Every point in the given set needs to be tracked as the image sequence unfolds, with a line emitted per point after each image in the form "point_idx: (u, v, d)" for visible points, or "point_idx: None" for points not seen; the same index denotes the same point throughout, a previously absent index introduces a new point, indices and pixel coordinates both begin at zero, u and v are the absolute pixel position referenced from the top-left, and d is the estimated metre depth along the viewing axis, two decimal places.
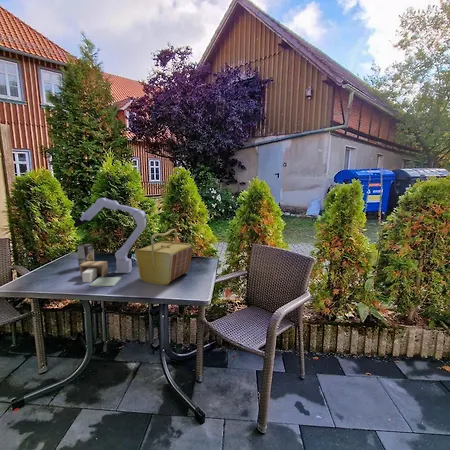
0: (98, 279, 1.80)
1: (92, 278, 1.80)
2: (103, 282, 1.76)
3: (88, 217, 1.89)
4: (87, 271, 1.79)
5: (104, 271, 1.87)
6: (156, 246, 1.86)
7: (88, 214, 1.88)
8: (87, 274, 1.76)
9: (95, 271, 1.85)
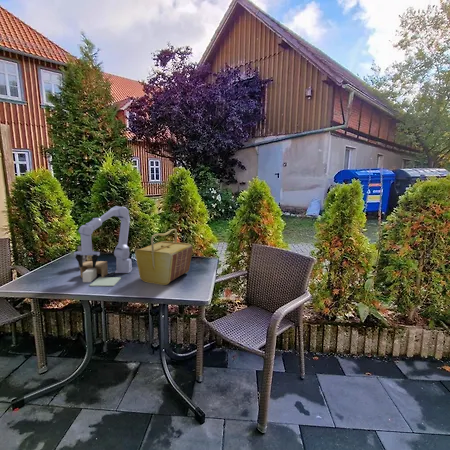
0: (98, 279, 1.80)
1: (92, 278, 1.80)
2: (103, 282, 1.76)
3: (91, 250, 1.79)
4: (87, 271, 1.79)
5: (104, 271, 1.87)
6: (156, 246, 1.87)
7: (91, 248, 1.77)
8: (87, 274, 1.76)
9: (95, 271, 1.85)
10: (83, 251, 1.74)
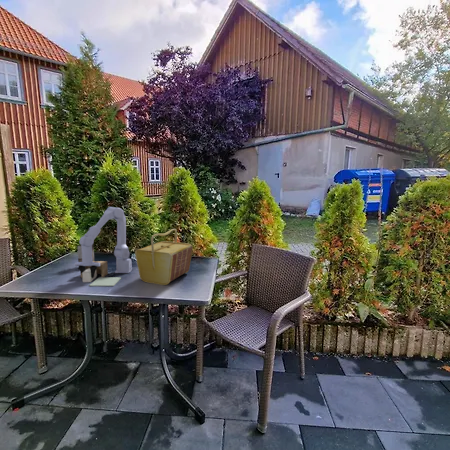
0: (98, 279, 1.80)
1: (92, 278, 1.80)
2: (103, 282, 1.76)
3: (92, 260, 1.80)
4: (87, 271, 1.79)
5: (104, 271, 1.87)
6: (156, 246, 1.86)
7: (92, 258, 1.78)
8: (87, 273, 1.76)
9: (95, 271, 1.85)
10: (84, 262, 1.75)
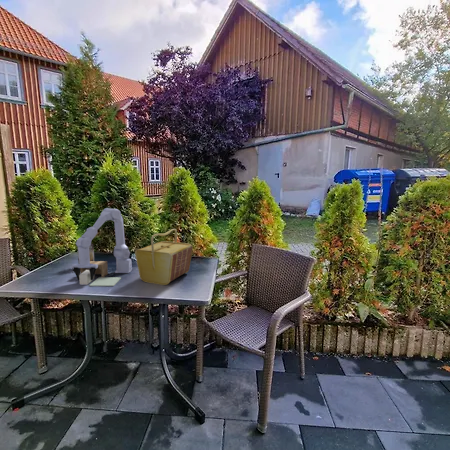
0: (98, 279, 1.80)
1: (89, 280, 1.76)
2: (103, 282, 1.76)
3: (89, 262, 1.76)
4: (84, 273, 1.75)
5: (104, 271, 1.87)
6: (156, 246, 1.87)
7: (89, 260, 1.74)
8: (84, 276, 1.72)
9: None
10: (81, 264, 1.72)
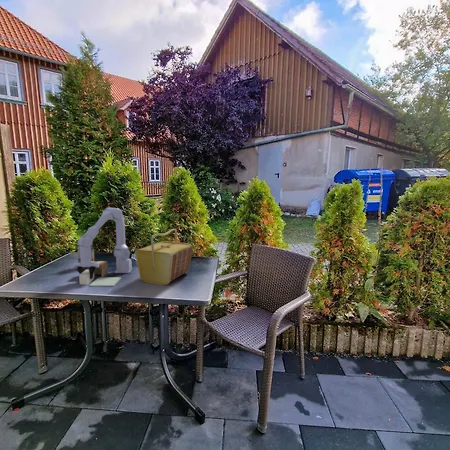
0: (98, 279, 1.80)
1: (89, 280, 1.76)
2: (103, 282, 1.76)
3: None
4: (84, 273, 1.75)
5: (104, 271, 1.87)
6: (156, 246, 1.86)
7: (90, 259, 1.76)
8: (84, 276, 1.72)
9: None
10: (82, 263, 1.74)
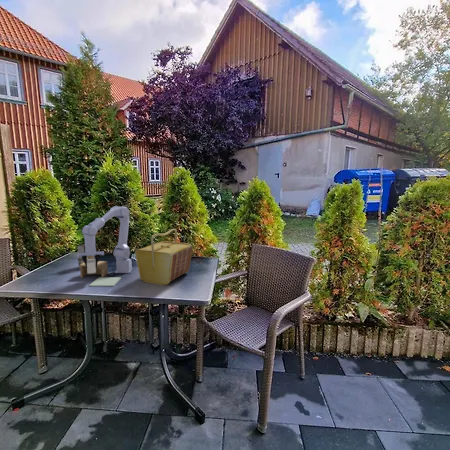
0: (98, 279, 1.80)
1: None
2: (103, 282, 1.76)
3: None
4: (90, 262, 1.74)
5: (104, 271, 1.87)
6: (156, 246, 1.87)
7: (95, 248, 1.76)
8: (92, 264, 1.72)
9: (95, 262, 1.80)
10: (88, 252, 1.72)
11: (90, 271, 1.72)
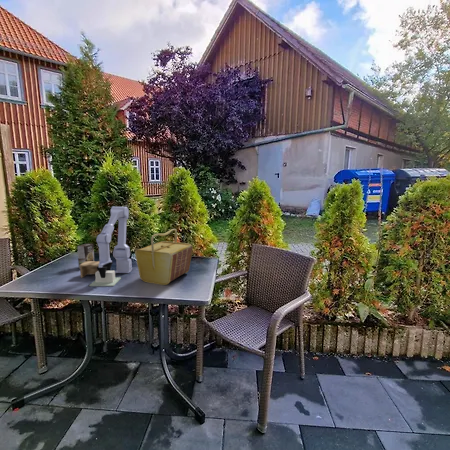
0: None
1: None
2: (103, 282, 1.76)
3: None
4: (109, 271, 1.76)
5: None
6: (156, 246, 1.87)
7: None
8: (114, 272, 1.77)
9: None
10: (108, 259, 1.74)
11: (113, 279, 1.77)
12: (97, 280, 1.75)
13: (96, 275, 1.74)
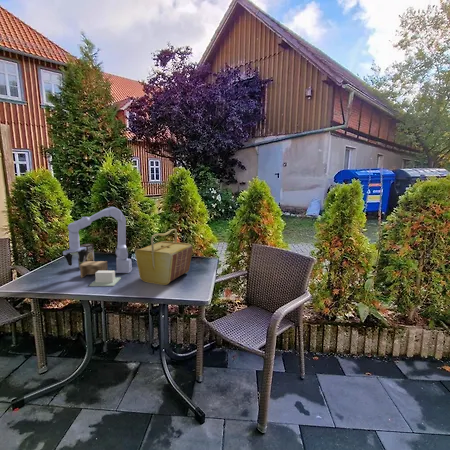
0: None
1: None
2: (103, 282, 1.76)
3: None
4: (109, 271, 1.76)
5: None
6: (156, 246, 1.87)
7: None
8: (114, 272, 1.77)
9: None
10: (76, 248, 1.79)
11: (113, 279, 1.77)
12: (97, 280, 1.75)
13: (96, 275, 1.74)
